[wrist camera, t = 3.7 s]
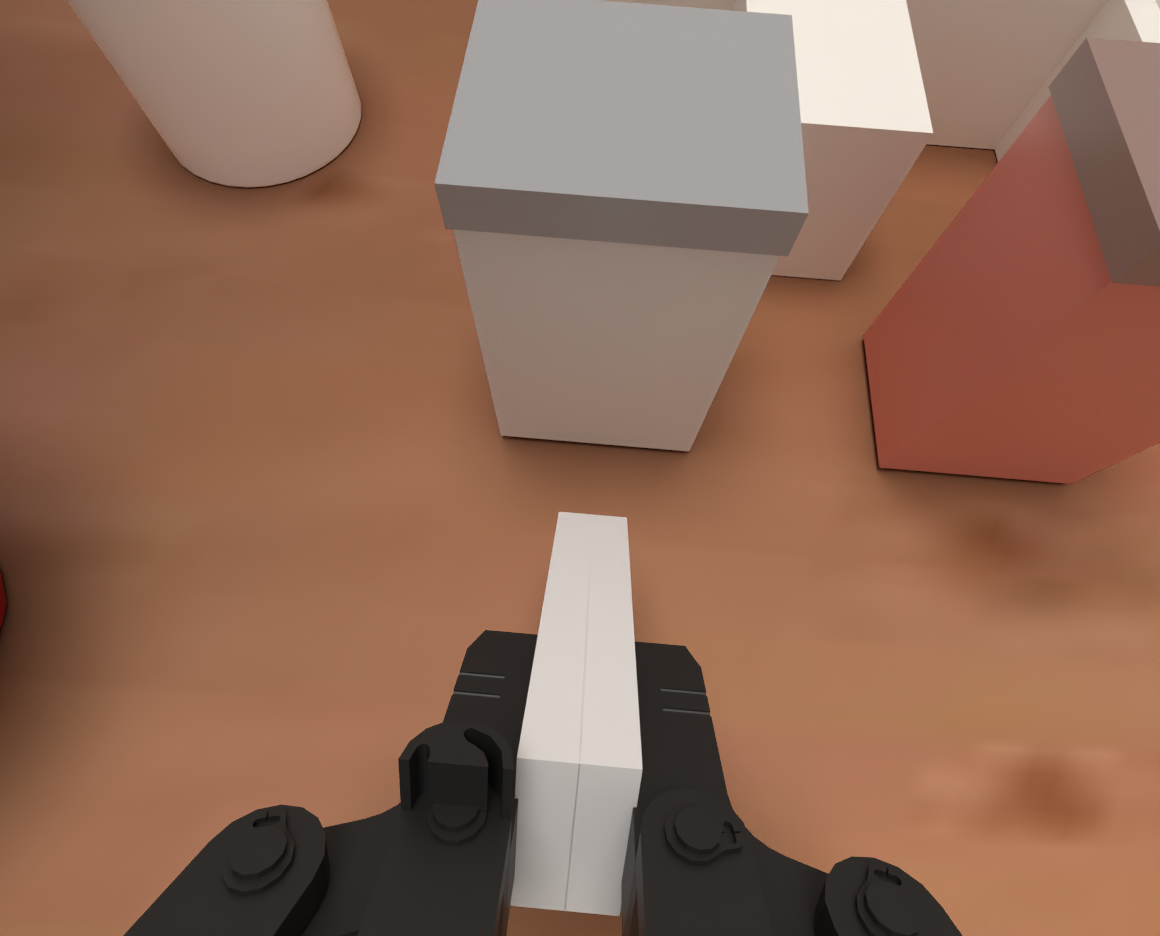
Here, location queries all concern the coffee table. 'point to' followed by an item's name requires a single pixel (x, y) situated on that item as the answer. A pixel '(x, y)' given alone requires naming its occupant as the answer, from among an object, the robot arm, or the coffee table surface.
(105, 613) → the coffee table surface
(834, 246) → the rack
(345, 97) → the pill bottle
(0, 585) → the plastic cup
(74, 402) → the coffee table surface
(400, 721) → the coffee table surface
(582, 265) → the grey capped white pillar
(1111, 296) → the capped red pillar
